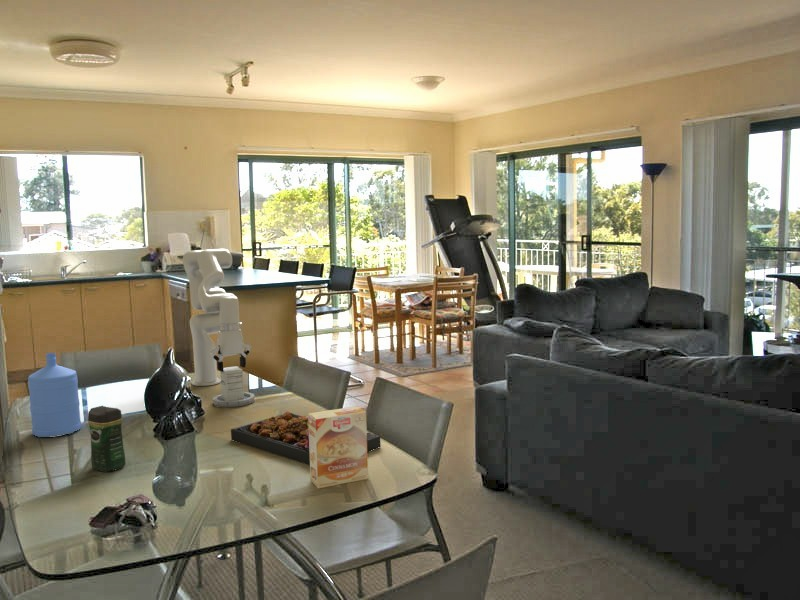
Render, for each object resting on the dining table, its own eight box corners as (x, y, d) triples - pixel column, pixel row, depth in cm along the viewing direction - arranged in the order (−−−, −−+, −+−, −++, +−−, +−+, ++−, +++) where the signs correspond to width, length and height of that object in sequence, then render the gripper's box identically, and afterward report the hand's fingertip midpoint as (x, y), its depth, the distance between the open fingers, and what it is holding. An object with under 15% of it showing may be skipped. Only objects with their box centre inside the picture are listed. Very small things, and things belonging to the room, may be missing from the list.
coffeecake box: (318, 489, 191) (315, 419, 189) (309, 480, 198) (306, 412, 195) (369, 479, 198) (366, 411, 195) (359, 471, 204) (357, 405, 202)
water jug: (89, 430, 251) (82, 352, 247) (42, 441, 239) (35, 360, 236) (70, 422, 261) (64, 348, 258) (25, 432, 250) (18, 355, 247)
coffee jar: (130, 466, 213) (126, 406, 211) (107, 474, 207) (102, 412, 204) (110, 460, 218) (106, 402, 216) (87, 468, 212) (82, 408, 210)
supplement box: (221, 398, 286) (219, 368, 285) (239, 396, 290) (237, 365, 288) (226, 402, 280) (224, 371, 278) (244, 399, 283) (243, 368, 282)
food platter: (380, 449, 224) (379, 417, 223) (322, 471, 206) (321, 437, 205) (289, 424, 254) (287, 396, 253) (231, 441, 236) (229, 411, 235)
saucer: (206, 402, 286) (206, 397, 285) (242, 395, 296) (242, 389, 296) (225, 409, 274) (224, 404, 273) (261, 402, 284) (261, 396, 284)
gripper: (245, 323, 290) (246, 364, 292) (205, 328, 278) (207, 370, 281) (254, 325, 284) (255, 367, 286) (214, 331, 273) (216, 374, 275)
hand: (231, 369), depth 284 cm, fingers open, 9 cm apart
